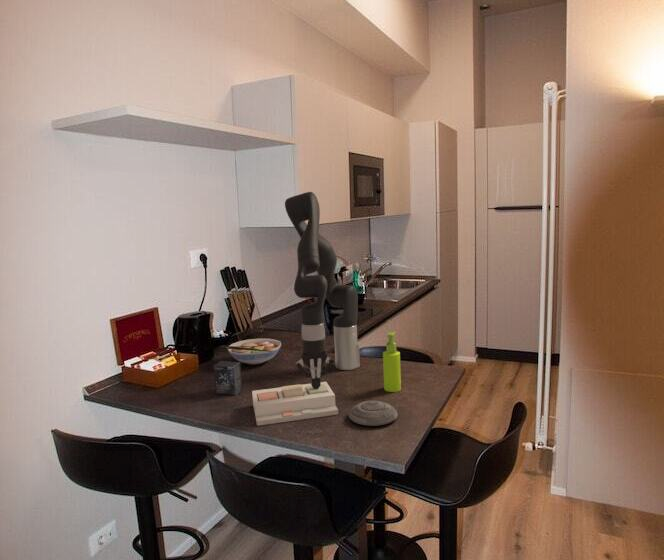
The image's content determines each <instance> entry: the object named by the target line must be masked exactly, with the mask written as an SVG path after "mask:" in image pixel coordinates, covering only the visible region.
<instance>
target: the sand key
mask: <svg viewBox="0 0 664 560" xmlns="http://www.w3.org/2000/svg"><path fill="white" fill-rule="evenodd" d="M301 385H302V384H300V383H299V384H293V385H291V384H290V385H283V386H281V387H282V395H283V398H288V397H296V396H303V389H302V387H301Z"/></svg>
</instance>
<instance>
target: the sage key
mask: <svg viewBox="0 0 664 560" xmlns="http://www.w3.org/2000/svg"><path fill="white" fill-rule="evenodd" d="M306 391H307V393H308V395H311V394H319V393H326V392H328V390H327V388H326V387H325V385H324V384H321V386H320V387H319V389H314V388H313V387H312V385H311V386H306Z"/></svg>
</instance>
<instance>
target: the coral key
mask: <svg viewBox="0 0 664 560" xmlns="http://www.w3.org/2000/svg"><path fill="white" fill-rule="evenodd" d="M273 399H278V396H277V393H276V392H271V393H263V394H258V401H265V400H273Z"/></svg>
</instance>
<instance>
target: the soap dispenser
mask: <svg viewBox="0 0 664 560" xmlns="http://www.w3.org/2000/svg"><path fill="white" fill-rule="evenodd" d="M396 333H397V332H396V331H388V333H387V334H386V335H387V336H386V337H388V341H387V342H385V346H386V348H385V349H386V351H383V352H382V365H383V390H384V391H385V392H388V393H397V392H399V391H401V390H402V381H401V380H402V376H401V375H402V374H401V352H400V351H398V350H397V342H395V341H394V336H395V334H396Z"/></svg>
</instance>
